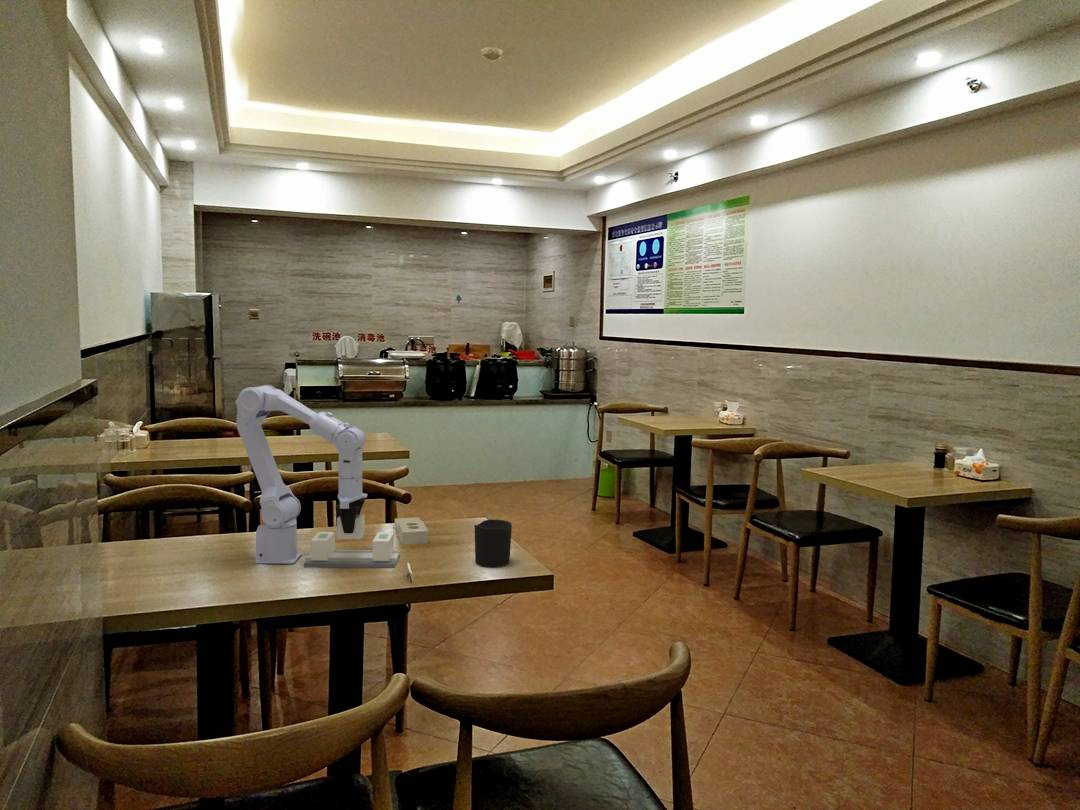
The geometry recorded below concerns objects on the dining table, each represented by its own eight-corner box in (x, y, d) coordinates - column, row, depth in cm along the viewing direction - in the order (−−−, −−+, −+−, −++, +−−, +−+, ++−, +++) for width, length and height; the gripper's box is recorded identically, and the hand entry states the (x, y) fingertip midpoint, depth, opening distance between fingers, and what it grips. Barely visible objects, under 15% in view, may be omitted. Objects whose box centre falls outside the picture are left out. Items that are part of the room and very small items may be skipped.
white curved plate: (397, 585, 172) (397, 572, 172) (395, 574, 180) (395, 562, 180) (413, 584, 173) (413, 572, 173) (410, 573, 181) (410, 561, 181)
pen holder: (516, 566, 187) (517, 527, 186) (480, 570, 184) (481, 530, 183) (503, 555, 196) (504, 518, 195) (469, 559, 192) (469, 521, 191)
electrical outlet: (418, 514, 222) (428, 529, 205) (418, 527, 223) (428, 544, 206) (394, 515, 220) (402, 531, 203) (394, 529, 220) (402, 546, 203)
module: (336, 538, 183) (336, 518, 183) (340, 534, 187) (340, 514, 187) (361, 538, 184) (361, 518, 183) (364, 534, 188) (364, 514, 187)
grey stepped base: (303, 567, 182) (303, 540, 182) (314, 554, 192) (313, 529, 192) (394, 567, 184) (394, 541, 183) (400, 555, 193) (400, 530, 193)
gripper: (360, 482, 177) (360, 538, 178) (372, 471, 191) (372, 523, 193) (330, 482, 177) (331, 538, 178) (344, 470, 191) (344, 522, 192)
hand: (350, 530), depth 185 cm, fingers closed on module, 4 cm apart
